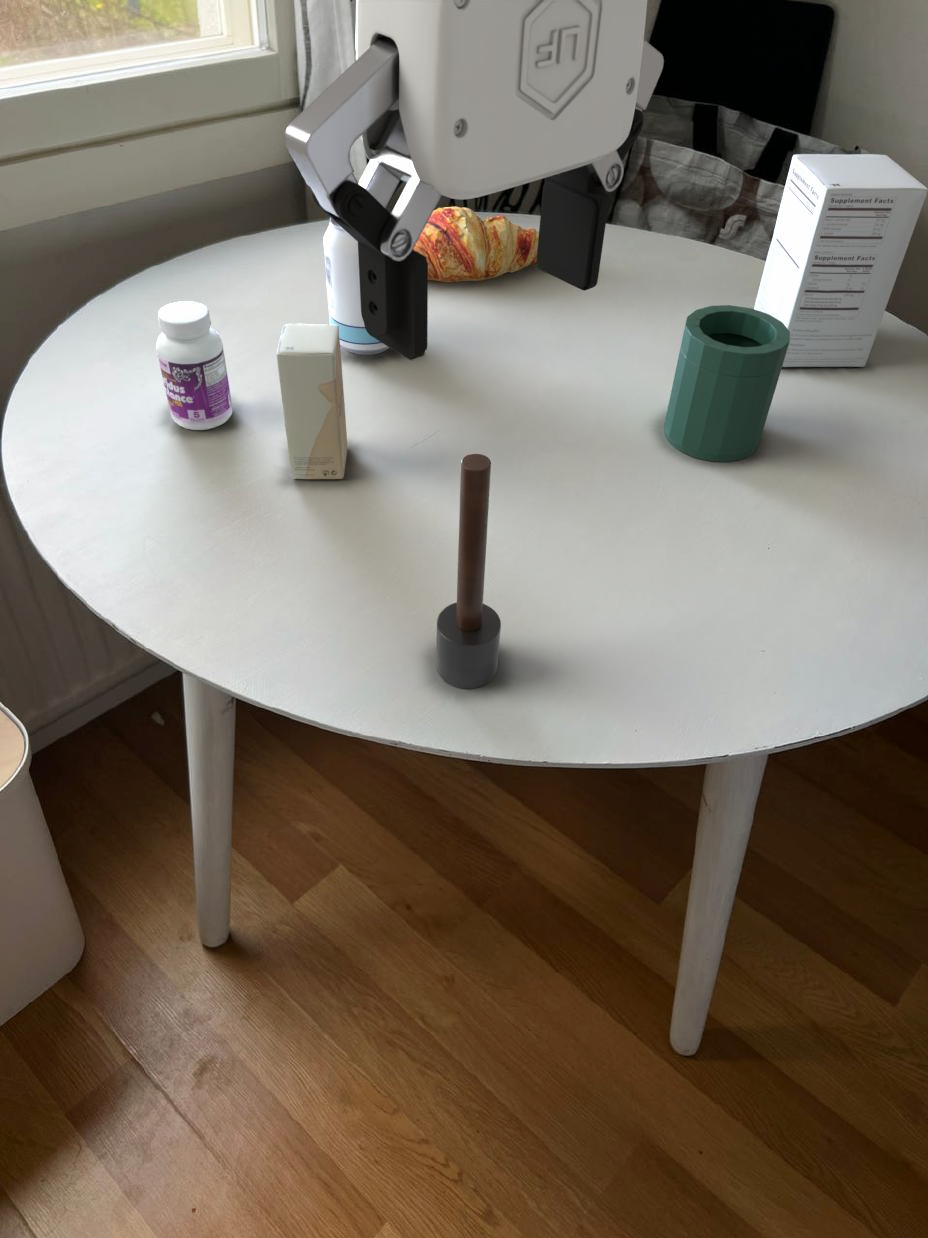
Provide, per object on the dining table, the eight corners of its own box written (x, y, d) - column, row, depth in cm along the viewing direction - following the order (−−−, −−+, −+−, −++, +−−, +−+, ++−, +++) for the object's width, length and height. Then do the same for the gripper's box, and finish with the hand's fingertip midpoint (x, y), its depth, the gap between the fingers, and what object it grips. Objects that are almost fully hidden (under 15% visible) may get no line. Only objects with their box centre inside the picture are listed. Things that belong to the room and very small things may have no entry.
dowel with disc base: (492, 641, 62) (506, 438, 50) (502, 686, 59) (519, 481, 48) (433, 646, 61) (434, 442, 50) (440, 691, 58) (443, 486, 47)
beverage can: (391, 364, 88) (388, 238, 79) (322, 355, 88) (311, 229, 80) (409, 330, 93) (407, 208, 84) (343, 322, 93) (335, 200, 85)
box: (343, 481, 74) (334, 355, 66) (290, 480, 74) (274, 354, 66) (348, 444, 78) (339, 321, 70) (297, 443, 78) (283, 320, 70)
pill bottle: (158, 423, 79) (133, 318, 72) (194, 394, 83) (173, 291, 76) (212, 438, 78) (192, 332, 71) (245, 407, 81) (229, 304, 75)
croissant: (543, 280, 110) (540, 207, 107) (572, 273, 100) (570, 193, 98) (367, 291, 105) (360, 216, 103) (381, 285, 96) (373, 201, 93)
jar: (739, 407, 84) (767, 303, 77) (772, 459, 78) (806, 351, 71) (652, 412, 83) (673, 306, 76) (679, 464, 77) (704, 355, 70)
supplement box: (867, 368, 90) (933, 189, 78) (775, 369, 89) (828, 188, 77) (832, 322, 96) (889, 151, 85) (746, 323, 96) (791, 150, 84)
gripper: (353, -252, 20) (377, 418, 32) (795, -242, 29) (685, 285, 41) (180, -266, 24) (260, 337, 36) (616, -254, 33) (563, 231, 45)
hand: (485, 309), depth 38 cm, fingers open, 9 cm apart
